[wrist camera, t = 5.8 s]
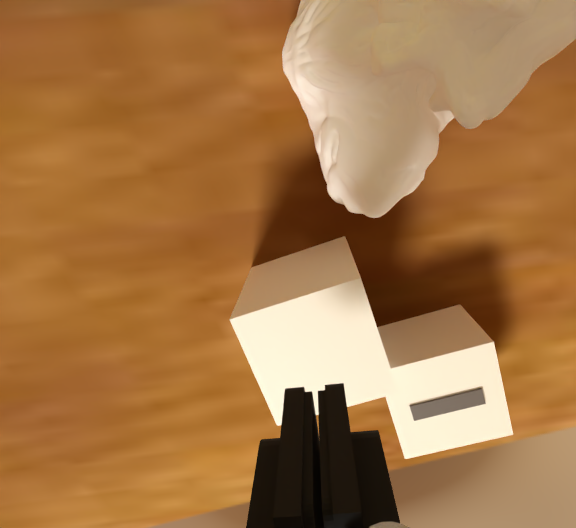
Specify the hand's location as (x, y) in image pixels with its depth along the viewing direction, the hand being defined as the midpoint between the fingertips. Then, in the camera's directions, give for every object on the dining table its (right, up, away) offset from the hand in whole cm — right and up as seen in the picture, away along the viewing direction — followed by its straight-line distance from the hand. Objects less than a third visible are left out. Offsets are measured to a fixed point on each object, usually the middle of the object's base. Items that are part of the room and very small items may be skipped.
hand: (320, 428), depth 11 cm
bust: (+3, +13, +6) cm, 15 cm away
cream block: (0, +3, +9) cm, 10 cm away
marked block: (+6, 0, +10) cm, 12 cm away
